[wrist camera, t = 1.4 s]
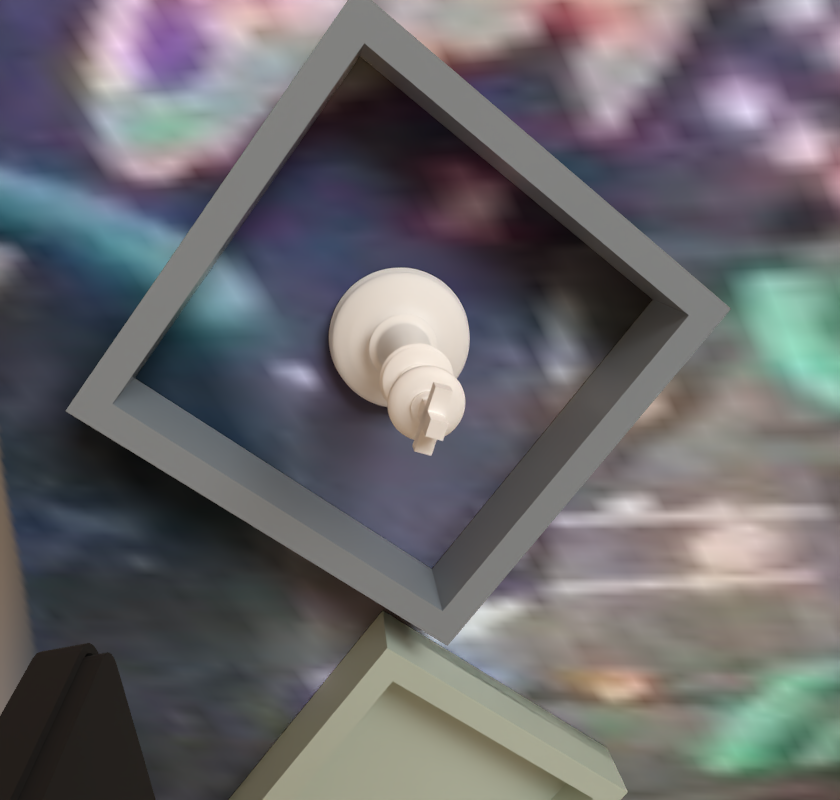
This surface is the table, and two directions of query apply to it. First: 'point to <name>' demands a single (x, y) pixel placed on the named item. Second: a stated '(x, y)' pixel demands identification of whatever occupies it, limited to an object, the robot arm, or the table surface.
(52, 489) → the table surface
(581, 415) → the shallow grey bin
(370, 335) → the chess piece
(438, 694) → the tray
